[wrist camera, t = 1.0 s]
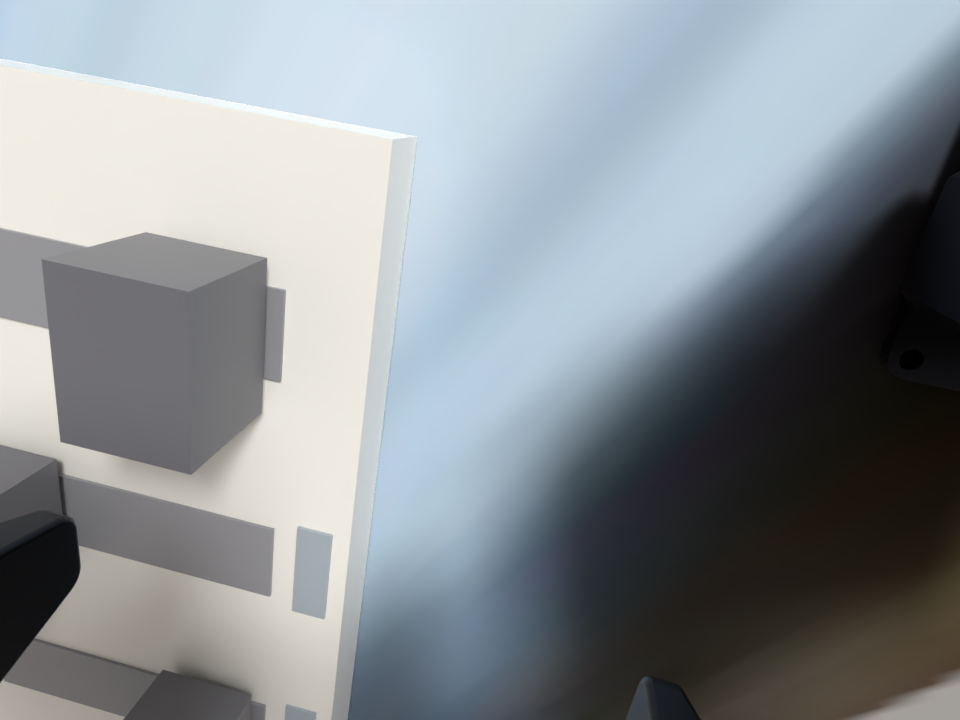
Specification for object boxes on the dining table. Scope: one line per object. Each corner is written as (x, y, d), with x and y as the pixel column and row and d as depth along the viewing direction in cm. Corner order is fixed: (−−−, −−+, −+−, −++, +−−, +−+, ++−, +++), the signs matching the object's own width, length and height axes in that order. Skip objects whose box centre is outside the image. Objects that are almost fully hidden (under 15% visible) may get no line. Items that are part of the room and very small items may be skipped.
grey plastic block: (267, 258, 14) (188, 291, 12) (262, 412, 16) (191, 475, 13) (145, 232, 15) (41, 259, 12) (151, 386, 16) (60, 441, 13)
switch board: (417, 136, 15) (391, 139, 13) (339, 789, 24) (317, 847, 22) (-97, 40, 17) (-189, 30, 15) (12, 691, 26) (-36, 738, 24)
